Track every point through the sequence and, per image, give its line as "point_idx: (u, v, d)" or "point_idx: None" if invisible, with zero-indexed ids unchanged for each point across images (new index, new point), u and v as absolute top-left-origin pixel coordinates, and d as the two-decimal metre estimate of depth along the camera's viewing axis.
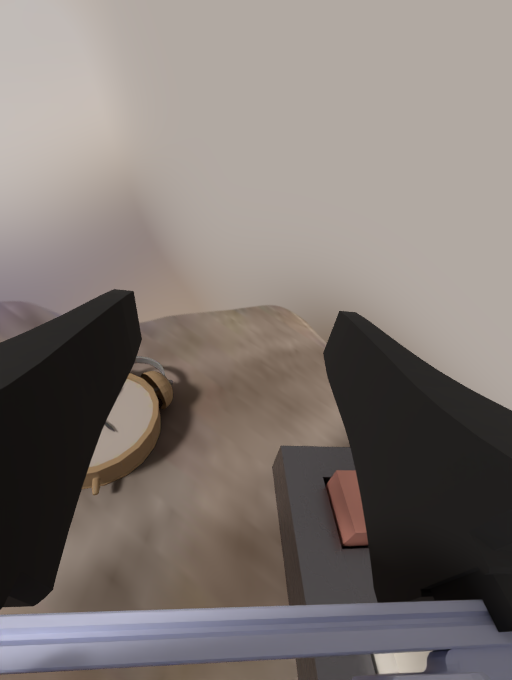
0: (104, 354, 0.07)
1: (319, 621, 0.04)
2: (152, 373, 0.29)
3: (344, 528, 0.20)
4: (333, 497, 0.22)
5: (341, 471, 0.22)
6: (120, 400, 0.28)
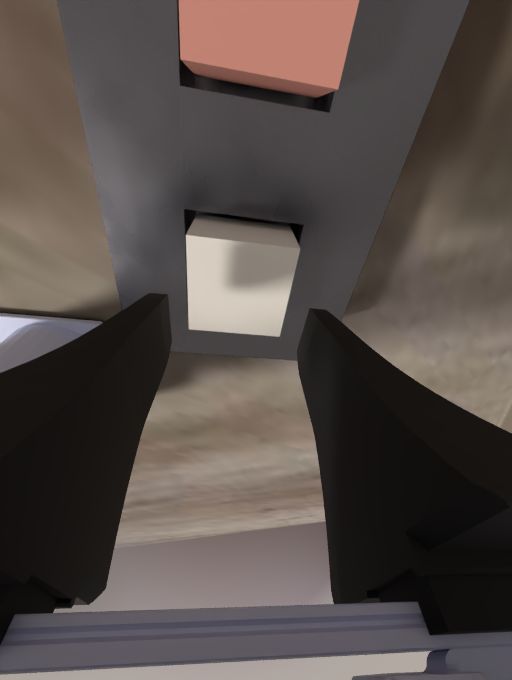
0: (147, 357, 0.07)
1: (319, 621, 0.04)
2: None
3: None
4: None
5: None
6: None
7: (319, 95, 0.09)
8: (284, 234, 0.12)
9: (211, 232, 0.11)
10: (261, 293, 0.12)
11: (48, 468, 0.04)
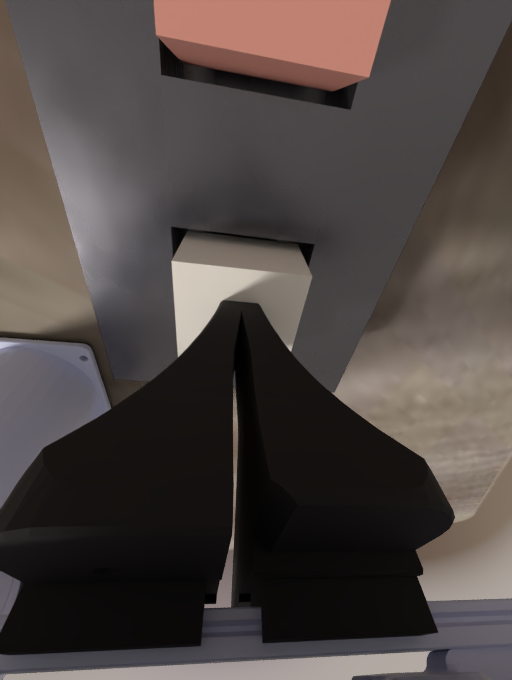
0: None
1: (319, 621, 0.04)
2: None
3: None
4: None
5: None
6: None
7: (338, 87, 0.07)
8: (291, 255, 0.10)
9: (203, 256, 0.09)
10: None
11: None
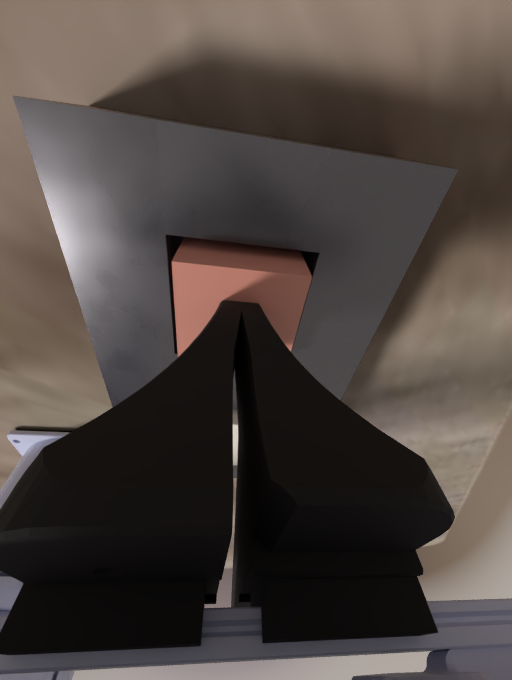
0: (234, 363, 0.08)
1: (319, 621, 0.04)
2: None
3: None
4: None
5: (186, 266, 0.08)
6: None
7: None
8: None
9: None
10: None
11: None
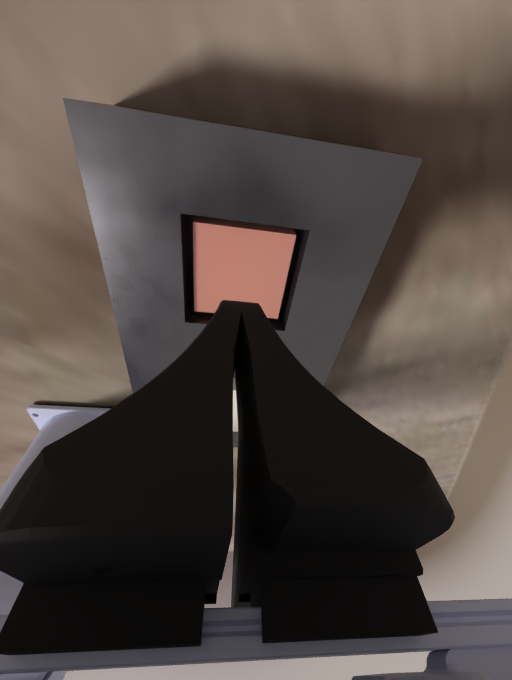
0: (233, 363, 0.08)
1: (319, 621, 0.04)
2: None
3: None
4: None
5: (203, 225, 0.11)
6: None
7: None
8: None
9: None
10: None
11: None
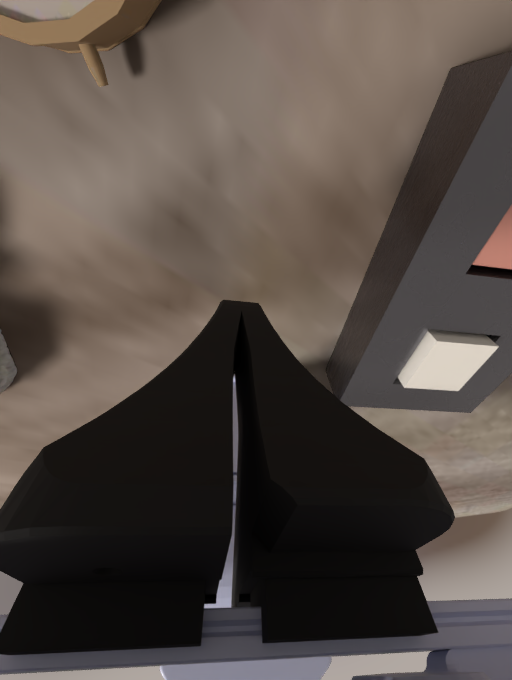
0: None
1: (319, 621, 0.04)
2: None
3: None
4: None
5: None
6: None
7: None
8: None
9: (443, 335, 0.17)
10: (462, 368, 0.18)
11: None
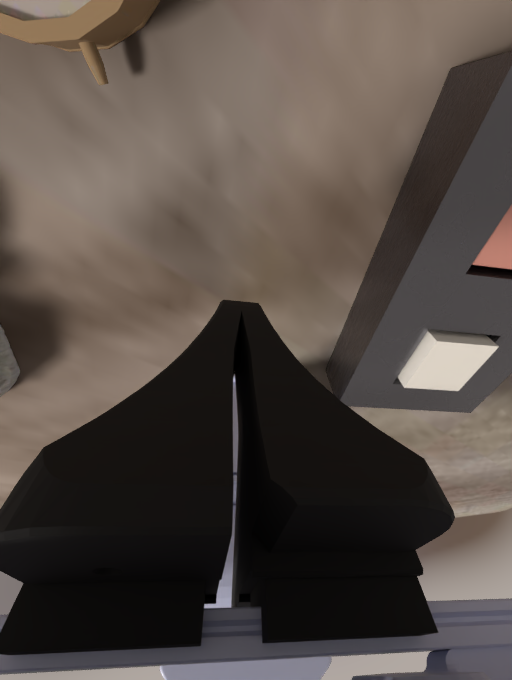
0: None
1: (319, 621, 0.04)
2: None
3: None
4: None
5: None
6: None
7: None
8: None
9: (443, 335, 0.17)
10: (462, 368, 0.18)
11: None
